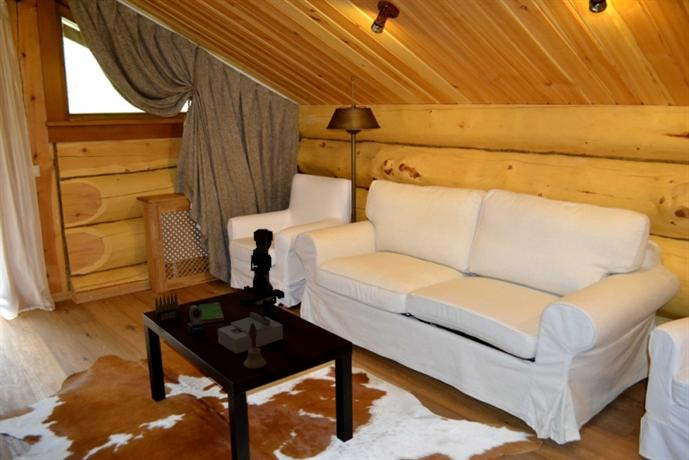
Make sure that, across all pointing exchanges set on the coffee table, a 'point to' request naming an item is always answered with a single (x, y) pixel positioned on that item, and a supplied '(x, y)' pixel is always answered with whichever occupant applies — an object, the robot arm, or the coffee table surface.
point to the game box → (211, 313)
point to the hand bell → (254, 352)
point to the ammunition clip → (166, 309)
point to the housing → (248, 337)
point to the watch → (195, 320)
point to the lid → (254, 318)
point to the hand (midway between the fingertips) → (263, 317)
